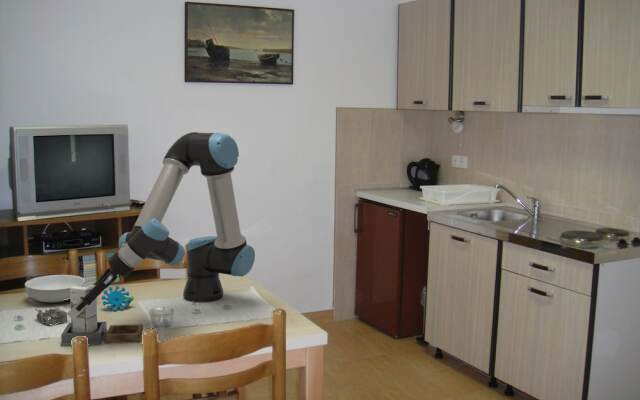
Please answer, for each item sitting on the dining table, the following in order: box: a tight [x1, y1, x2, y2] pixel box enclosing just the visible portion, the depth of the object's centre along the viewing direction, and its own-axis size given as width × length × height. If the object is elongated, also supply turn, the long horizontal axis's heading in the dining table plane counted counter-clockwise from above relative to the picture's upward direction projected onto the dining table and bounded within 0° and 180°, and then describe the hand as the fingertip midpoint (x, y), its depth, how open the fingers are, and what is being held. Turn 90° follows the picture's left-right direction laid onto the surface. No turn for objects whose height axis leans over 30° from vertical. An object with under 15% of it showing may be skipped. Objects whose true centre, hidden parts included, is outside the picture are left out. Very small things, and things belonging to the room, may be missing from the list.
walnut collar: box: [105, 323, 144, 344], centre depth 207 cm, size 10×10×2 cm
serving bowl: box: [24, 274, 86, 304], centre depth 245 cm, size 21×21×7 cm
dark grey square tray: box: [60, 320, 108, 347], centre depth 205 cm, size 12×12×4 cm
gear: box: [101, 285, 135, 312], centre depth 237 cm, size 11×6×10 cm
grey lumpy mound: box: [35, 307, 68, 326], centre depth 221 cm, size 11×8×4 cm
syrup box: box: [69, 284, 98, 333], centre depth 204 cm, size 6×6×14 cm
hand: (72, 312), depth 203 cm, fingers closed on syrup box, 7 cm apart
